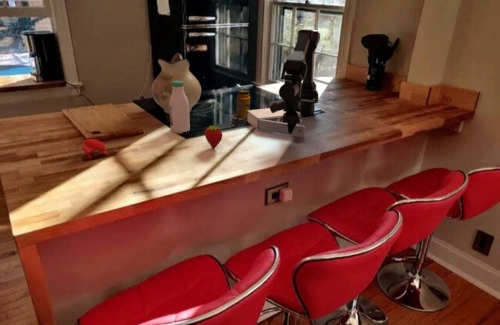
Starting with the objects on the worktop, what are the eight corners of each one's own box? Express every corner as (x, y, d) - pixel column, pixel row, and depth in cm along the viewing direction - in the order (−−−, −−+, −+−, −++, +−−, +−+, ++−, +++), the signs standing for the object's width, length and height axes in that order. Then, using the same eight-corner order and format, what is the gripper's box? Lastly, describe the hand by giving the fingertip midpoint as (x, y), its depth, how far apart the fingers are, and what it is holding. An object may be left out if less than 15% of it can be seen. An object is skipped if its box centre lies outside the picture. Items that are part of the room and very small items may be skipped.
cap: (79, 152, 123) (94, 143, 123) (78, 140, 127) (93, 131, 127) (96, 165, 129) (110, 155, 129) (94, 153, 133) (108, 144, 133)
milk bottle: (193, 128, 155) (191, 80, 147) (184, 134, 148) (181, 84, 140) (176, 126, 157) (173, 78, 149) (167, 132, 151) (163, 82, 142)
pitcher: (168, 121, 162) (165, 62, 152) (143, 108, 178) (138, 54, 168) (211, 112, 176) (210, 57, 165) (183, 101, 192) (181, 50, 181)
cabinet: (287, 116, 172) (288, 106, 170) (299, 124, 163) (300, 113, 161) (247, 121, 165) (247, 110, 163) (257, 129, 156) (258, 118, 153)
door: (304, 136, 149) (305, 125, 147) (302, 138, 147) (303, 127, 145) (257, 129, 155) (258, 118, 153) (256, 130, 154) (256, 120, 152)
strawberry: (215, 143, 142) (215, 117, 137) (226, 149, 136) (226, 123, 132) (201, 146, 138) (200, 120, 134) (212, 153, 133) (211, 126, 129)
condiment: (253, 117, 170) (254, 91, 165) (237, 120, 166) (237, 94, 160) (244, 113, 175) (245, 87, 170) (229, 116, 171) (229, 90, 166)
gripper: (272, 86, 147) (270, 123, 154) (269, 99, 130) (267, 141, 137) (300, 87, 146) (297, 125, 153) (301, 101, 129) (298, 143, 136)
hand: (289, 133), depth 145 cm, fingers closed
